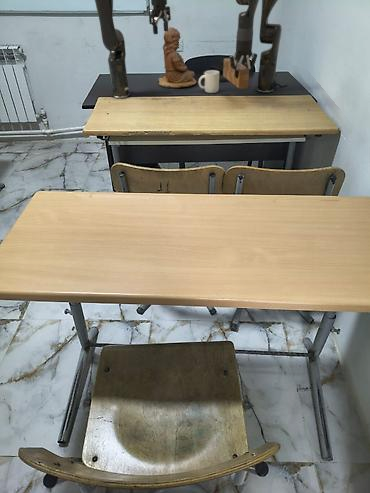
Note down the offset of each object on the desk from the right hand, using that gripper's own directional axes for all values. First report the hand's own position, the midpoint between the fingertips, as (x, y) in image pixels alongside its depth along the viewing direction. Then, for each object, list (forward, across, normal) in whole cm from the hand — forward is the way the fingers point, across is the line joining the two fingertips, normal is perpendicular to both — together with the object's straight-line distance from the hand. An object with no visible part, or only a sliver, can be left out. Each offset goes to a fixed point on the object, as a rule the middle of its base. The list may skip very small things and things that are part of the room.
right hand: (241, 77), depth 178 cm
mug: (+15, -8, +30) cm, 35 cm away
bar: (+4, 0, +9) cm, 10 cm away
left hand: (-18, -35, +25) cm, 46 cm away
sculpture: (+15, -20, +54) cm, 60 cm away
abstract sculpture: (+15, +10, +56) cm, 59 cm away
